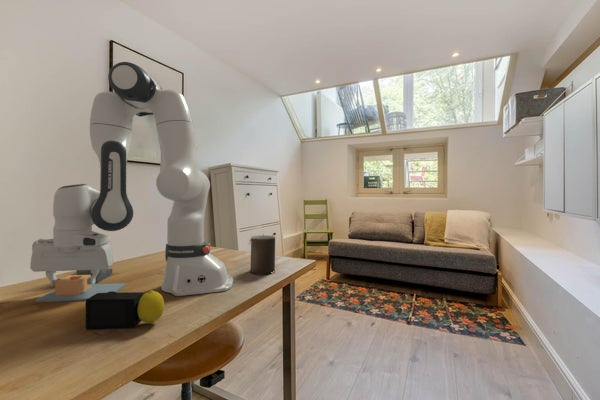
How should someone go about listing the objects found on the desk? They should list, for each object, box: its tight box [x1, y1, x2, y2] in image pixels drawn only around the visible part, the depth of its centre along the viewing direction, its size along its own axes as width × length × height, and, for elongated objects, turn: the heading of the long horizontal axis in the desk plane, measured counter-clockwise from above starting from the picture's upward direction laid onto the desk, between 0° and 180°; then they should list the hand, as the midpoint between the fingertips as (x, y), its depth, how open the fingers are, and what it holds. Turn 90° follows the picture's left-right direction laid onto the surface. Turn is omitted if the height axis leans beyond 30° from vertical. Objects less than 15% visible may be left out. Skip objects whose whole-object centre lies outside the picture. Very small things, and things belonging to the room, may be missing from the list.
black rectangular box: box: [85, 291, 144, 331], centre depth 64 cm, size 10×5×7 cm, turn 96°
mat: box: [34, 282, 127, 303], centre depth 82 cm, size 18×12×1 cm, turn 100°
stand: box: [70, 268, 113, 284], centre depth 95 cm, size 10×10×14 cm
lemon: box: [137, 289, 165, 325], centre depth 64 cm, size 6×6×8 cm
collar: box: [54, 274, 91, 296], centre depth 82 cm, size 6×6×4 cm
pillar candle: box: [250, 233, 276, 275], centre depth 109 cm, size 10×10×15 cm
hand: (73, 284), depth 81 cm, fingers open, 8 cm apart
